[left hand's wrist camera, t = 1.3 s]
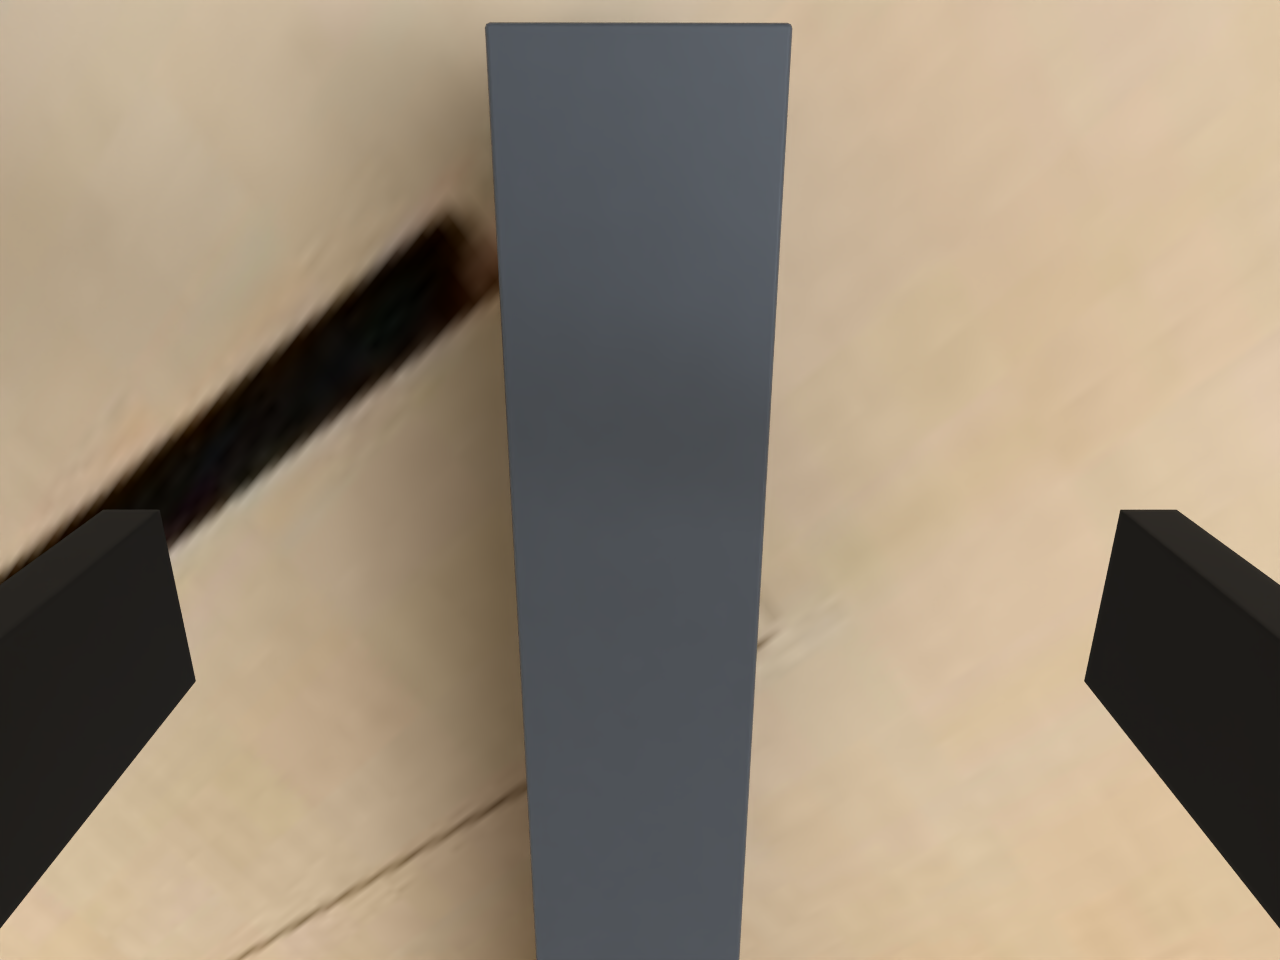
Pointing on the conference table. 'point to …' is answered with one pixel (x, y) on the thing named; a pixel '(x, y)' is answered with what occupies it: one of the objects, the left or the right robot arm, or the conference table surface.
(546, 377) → the beam
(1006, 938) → the conference table surface
